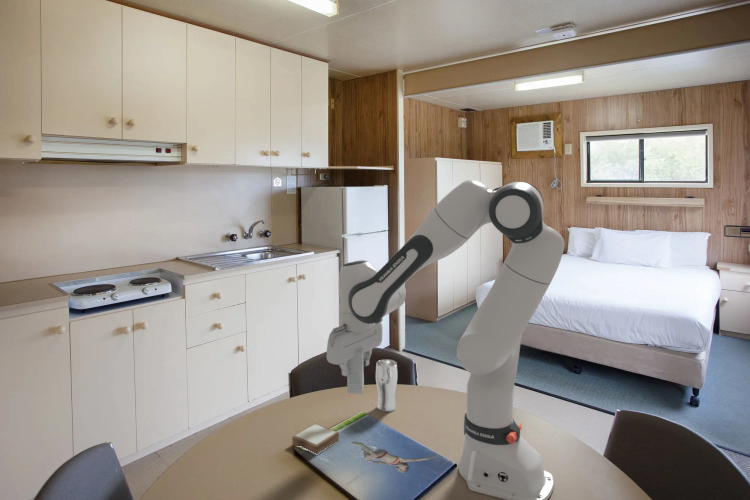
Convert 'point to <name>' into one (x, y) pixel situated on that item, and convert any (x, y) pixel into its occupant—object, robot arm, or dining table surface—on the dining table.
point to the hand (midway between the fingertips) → (355, 370)
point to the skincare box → (356, 373)
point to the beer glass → (386, 384)
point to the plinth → (315, 438)
